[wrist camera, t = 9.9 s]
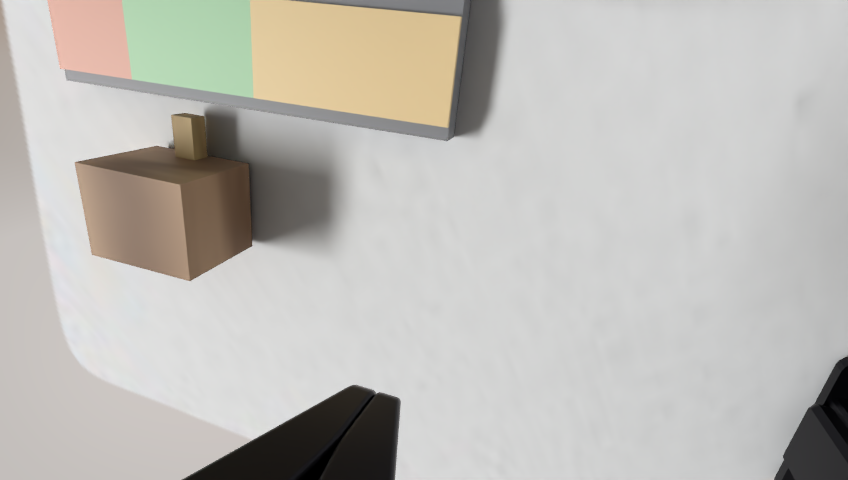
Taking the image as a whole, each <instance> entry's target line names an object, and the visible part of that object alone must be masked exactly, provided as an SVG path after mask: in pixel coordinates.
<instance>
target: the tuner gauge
mask: <svg viewBox="0 0 848 480" xmlns="http://www.w3.org/2000/svg"><path fill="white" fill-rule="evenodd" d="M470 4H471V0H48V6H49V11H50V16H51V22H52V27H53V33H54V38H55V43H56V49H57V54H58V60H59V65H60V69H65V74H66V79H67V80H69V81H75V82H82V83H88V84H94V85H100V86H107V87H113V88H119V89H125V90H132V91H138V92H144V93H150V94H157V95H163V96H169V97H175V98H182V99H188V100H194V101H200V102H207V103H213V104H219V105H225V106H232V107H238V108H244V109H250V110H257V111H263V112H269V113H275V114H282V115H288V116H294V117H300V118H307V119H313V120H319V121H325V122H332V123H338V124H344V125H350V126H357V127H363V128H369V129H375V130H382V131H388V132H394V133H400V134H407V135H413V136H419V137H426V138H432V139H438V140H444V141H448V140H450V139H451V138H453V137H454V131H455V123H456V115H457V107H458V99H459V91H460V83H461V75H462V67H463V59H464V51H465V43H466V36H467V28H468V20H469V12H470Z"/></svg>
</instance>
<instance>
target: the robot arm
mask: <svg viewBox="0 0 848 480" xmlns="http://www.w3.org/2000/svg"><path fill="white" fill-rule="evenodd" d="M400 404H401V401H400V399H399V398H398V397H394V396H391V395H388V394H385V393H381V392H379V393H377V394H376V392H375V391H374V390H371V389H368V388H365V387H361V386H358V385H352V386H349V387H347V388H345V389H344V390H342V391H340V392H338V393H336V394H335V395H333V396H331V397H329V398H328V399H326V400H324V401H322V402H320V403H319V404H317V405H315V406H313V407H311V408H310V409H308V410H306V411H304V412H302V413H301V414H299V415H297V416H295V417H293V418H292V419H290V420H288V421H286V422H284V423H283V424H281V425H279V426H277V427H276V428H274V429H272V430H270V431H268V432H267V433H265V434H263V435H261V436H259V437H258V438H256V439H254V440H252V441H250V442H249V443H247V444H245V445H244V446H242V447H240V448H238V449H236V450H234V451H233V452H231V453H229V454H227V455H226V456H224V457H222V458H220V459H218V460H216V461H215V462H213V463H211V464H209V465H207V466H206V467H204V468H202V469H200V470H198V471H197V472H195V473H193V474H191V475H190V476H188V477H186V478H184V479H182V480H395V471H396V457H397V444H398V431H399V417H400ZM783 458H784V461H783V463H782V465H781V467H780V469H779V471H778V473H777V474H776V476H775V479H774V480H848V357H846V358H843V359H841V360H839V361H838V363H837V364H836V365H835V367H834V369H833V370H832V372H831V374H830V376H829V378H828V380H827V382H826V383H825V385H824V387H823V389H822V391H821V393H820V395H819V396H818V398H817V400H816V402H815V404H814V405H812V406H811V407H809V408H808V410H807V412H806V414H805V416H804V418H803V419H802V421H801V423H800V425H799V427H798V429H797V431H796V432H795V434H794V436H793V438H792V440H791V442H790V444H789V446H788V447H787V449H786V451H785V453H784V455H783Z"/></svg>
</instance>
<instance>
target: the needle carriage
mask: <svg viewBox="0 0 848 480" xmlns="http://www.w3.org/2000/svg"><path fill="white" fill-rule="evenodd" d="M171 118H172V127H173V137H174V147H175V149H170V148H165V147H159V146H154V147H149V148H144V149H139V150H134V151H129V152H124V153H119V154H114V155H109V156H104V157H99V158H94V159H89V160H84V161H79V162H75V167H76V172H77V177H78V183H79V188H80V193H81V199H82V204H83V209H84V214H85V220H86V225H87V230H88V236H89V241H90V246H91V252H92V255H95V256H99V257H103V258H106V259H110V260H114V261H117V262H121V263H125V264H129V265H132V266H136V267H140V268H143V269H147V270H151V271H155V272H158V273H162V274H166V275H169V276H173V277H177V278H181V279H184V280H188V281H191V280H193V279H194V278H196V277H198V276H200V275H201V274H203V273H205V272H207V271H209V270H210V269H212V268H214V267H216V266H217V265H219V264H221V263H223V262H225V261H226V260H228V259H230V258H232V257H233V256H235V255H237V254H239V253H240V252H242V251H244V250H246V249H248V248H249V247H251V246H252V231H251V207H250V184H249V164H248V163H243V162H238V161H233V160H227V159H222V158H217V157H212V156H207V144H206V131H205V118H204V116H199V115H194V114H188V113H182V114H175V115H171Z"/></svg>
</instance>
